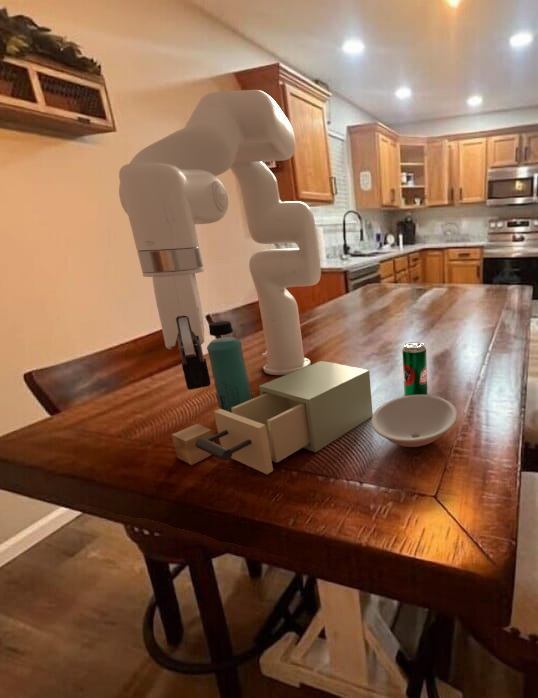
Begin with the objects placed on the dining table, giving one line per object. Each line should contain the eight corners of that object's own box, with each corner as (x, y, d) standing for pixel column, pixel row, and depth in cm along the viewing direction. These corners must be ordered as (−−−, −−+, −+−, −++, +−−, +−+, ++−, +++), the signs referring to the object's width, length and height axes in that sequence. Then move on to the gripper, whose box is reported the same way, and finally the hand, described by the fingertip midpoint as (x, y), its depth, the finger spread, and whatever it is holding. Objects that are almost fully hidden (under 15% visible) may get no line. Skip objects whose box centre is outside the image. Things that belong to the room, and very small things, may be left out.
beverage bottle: (261, 411, 85) (245, 318, 79) (240, 425, 79) (221, 326, 73) (236, 408, 88) (218, 317, 81) (214, 422, 82) (193, 325, 75)
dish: (447, 474, 61) (446, 445, 59) (358, 462, 65) (356, 435, 63) (463, 421, 77) (463, 397, 75) (391, 414, 81) (390, 391, 79)
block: (177, 457, 69) (171, 434, 68) (202, 446, 73) (196, 423, 71) (191, 465, 67) (185, 441, 65) (216, 452, 70) (211, 429, 69)
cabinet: (315, 452, 69) (308, 399, 66) (267, 434, 76) (258, 385, 73) (372, 416, 81) (369, 370, 78) (326, 403, 88) (321, 360, 85)
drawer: (238, 492, 58) (228, 443, 55) (193, 468, 64) (183, 423, 61) (333, 433, 73) (328, 393, 70) (289, 419, 79) (284, 381, 77)
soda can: (425, 402, 86) (424, 348, 82) (402, 401, 87) (399, 348, 83) (429, 392, 91) (427, 341, 87) (406, 392, 92) (404, 341, 88)
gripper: (146, 262, 61) (173, 376, 67) (133, 269, 48) (169, 410, 54) (201, 258, 64) (222, 367, 70) (202, 264, 51) (229, 397, 57)
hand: (199, 385), depth 62 cm, fingers closed
